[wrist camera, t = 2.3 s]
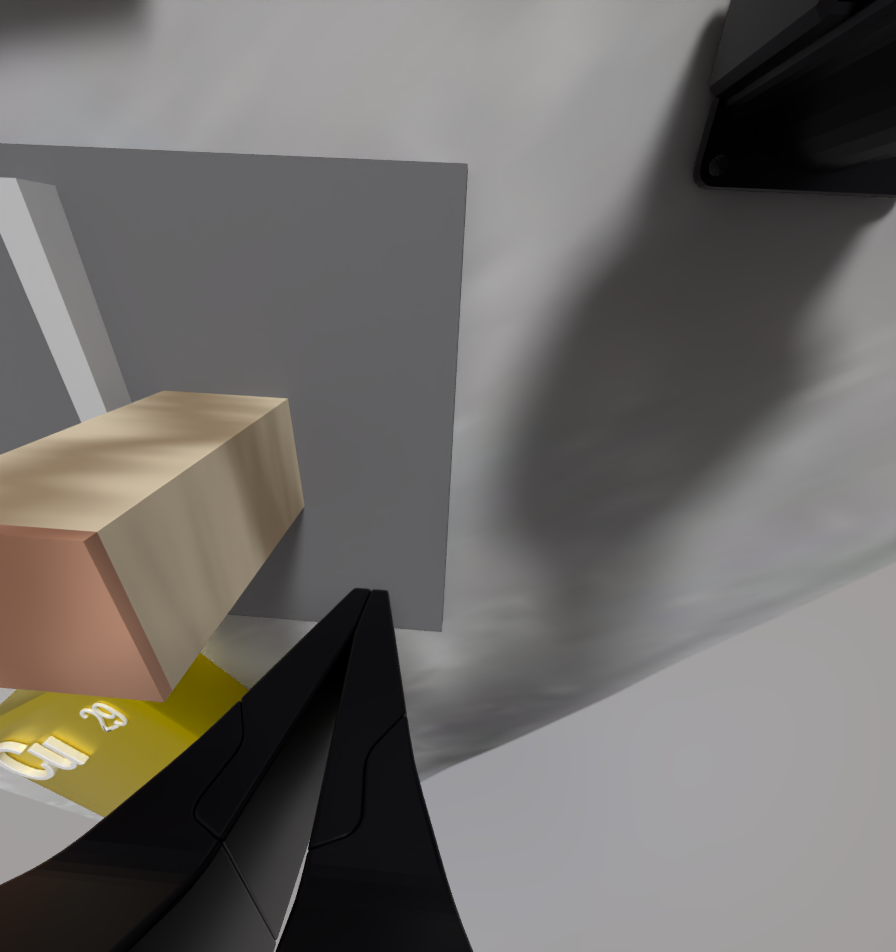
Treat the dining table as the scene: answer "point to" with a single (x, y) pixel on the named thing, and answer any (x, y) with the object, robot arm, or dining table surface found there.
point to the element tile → (109, 735)
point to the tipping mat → (255, 334)
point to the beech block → (138, 539)
